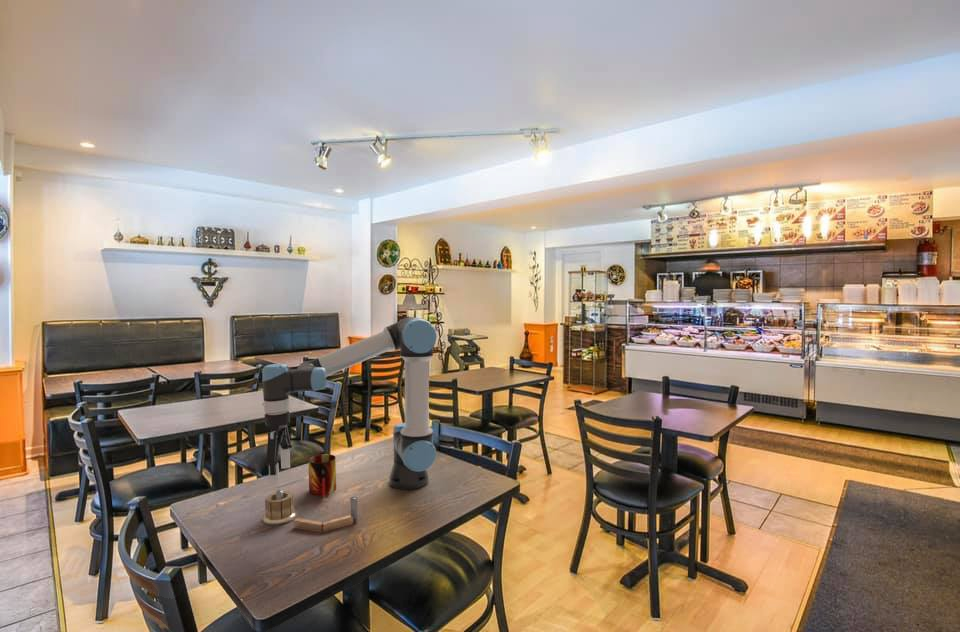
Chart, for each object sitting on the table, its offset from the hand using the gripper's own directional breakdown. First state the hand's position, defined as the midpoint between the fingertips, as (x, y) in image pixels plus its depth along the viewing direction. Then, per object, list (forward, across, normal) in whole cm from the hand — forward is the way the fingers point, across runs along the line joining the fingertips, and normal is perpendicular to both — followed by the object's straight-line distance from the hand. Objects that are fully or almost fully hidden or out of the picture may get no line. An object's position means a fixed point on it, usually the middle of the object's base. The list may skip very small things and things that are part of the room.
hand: (280, 475), depth 155 cm
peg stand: (+14, 0, -1) cm, 14 cm away
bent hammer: (+14, +9, +15) cm, 23 cm away
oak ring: (+13, 0, -1) cm, 13 cm away
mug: (+15, -19, +10) cm, 26 cm away
